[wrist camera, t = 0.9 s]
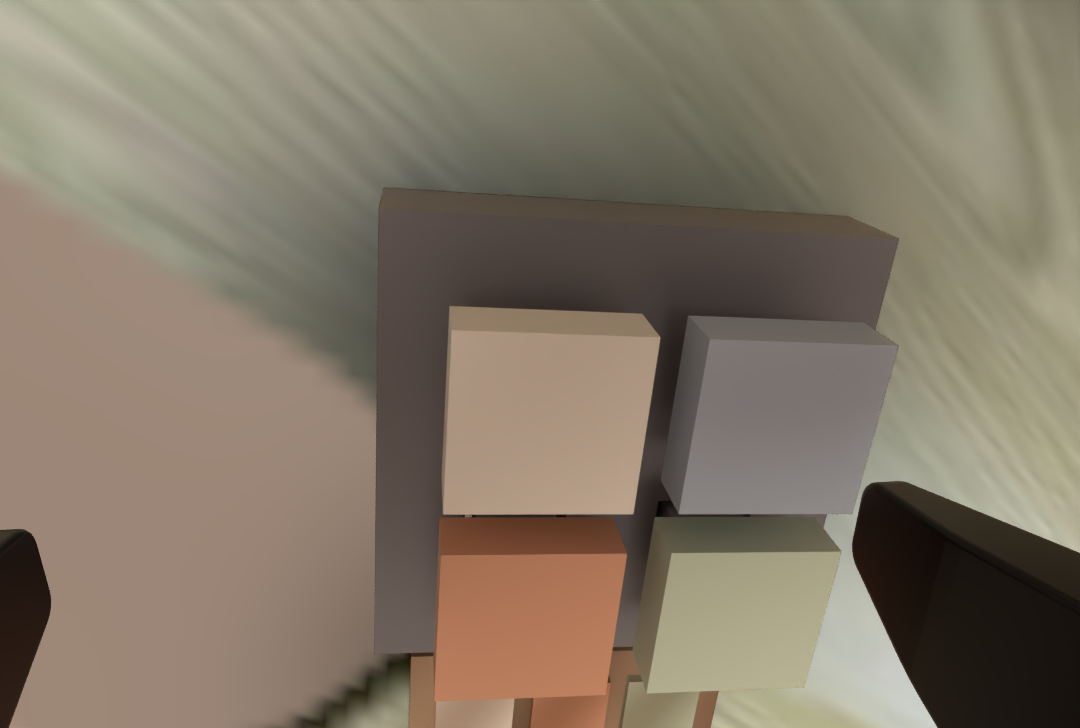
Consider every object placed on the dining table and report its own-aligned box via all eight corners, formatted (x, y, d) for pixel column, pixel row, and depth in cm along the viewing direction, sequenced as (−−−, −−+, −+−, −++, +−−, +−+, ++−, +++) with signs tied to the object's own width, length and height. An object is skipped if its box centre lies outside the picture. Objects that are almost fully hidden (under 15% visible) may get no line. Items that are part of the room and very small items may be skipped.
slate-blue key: (803, 282, 20) (898, 345, 16) (772, 423, 22) (851, 513, 18) (651, 275, 19) (710, 339, 15) (629, 420, 21) (678, 514, 17)
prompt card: (722, 634, 26) (731, 654, 25) (700, 735, 28) (708, 756, 27) (411, 642, 24) (411, 663, 23) (408, 748, 26) (407, 772, 25)
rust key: (588, 453, 21) (626, 553, 17) (573, 577, 23) (605, 695, 19) (437, 452, 21) (441, 555, 17) (432, 579, 22) (434, 701, 18)
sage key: (765, 455, 22) (841, 551, 18) (739, 574, 23) (803, 687, 19) (624, 454, 21) (671, 553, 17) (607, 576, 23) (646, 693, 19)
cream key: (611, 273, 19) (660, 337, 15) (592, 420, 21) (633, 514, 17) (445, 265, 19) (451, 330, 15) (439, 417, 20) (442, 514, 16)
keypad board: (848, 216, 21) (899, 238, 19) (761, 588, 25) (793, 641, 23) (383, 187, 19) (378, 208, 17) (378, 595, 23) (374, 654, 21)
